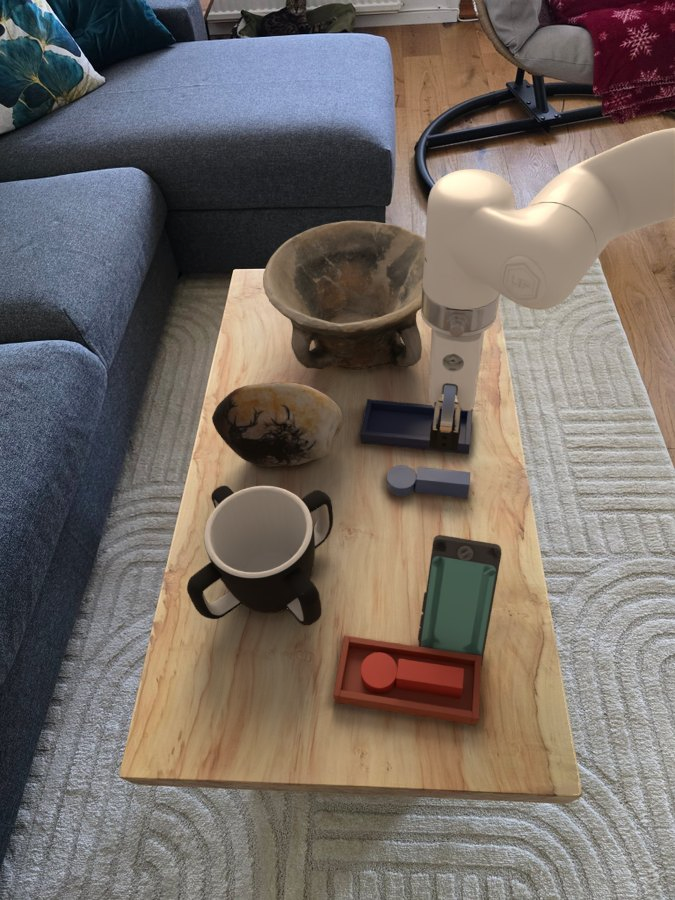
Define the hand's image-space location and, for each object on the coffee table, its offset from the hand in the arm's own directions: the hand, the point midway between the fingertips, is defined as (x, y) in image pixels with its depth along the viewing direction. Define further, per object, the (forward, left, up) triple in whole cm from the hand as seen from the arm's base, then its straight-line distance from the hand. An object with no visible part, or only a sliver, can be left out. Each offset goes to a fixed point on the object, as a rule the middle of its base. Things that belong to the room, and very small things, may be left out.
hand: (446, 416), depth 80 cm
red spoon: (+1, +27, -14) cm, 30 cm away
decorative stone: (+22, -2, -15) cm, 27 cm away
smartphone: (-3, +19, -9) cm, 21 cm away
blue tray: (+4, -10, -15) cm, 18 cm away
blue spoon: (+2, 0, -15) cm, 15 cm away
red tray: (+1, +27, -15) cm, 31 cm away
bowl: (+16, -28, -15) cm, 36 cm away
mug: (+19, +17, -15) cm, 30 cm away
